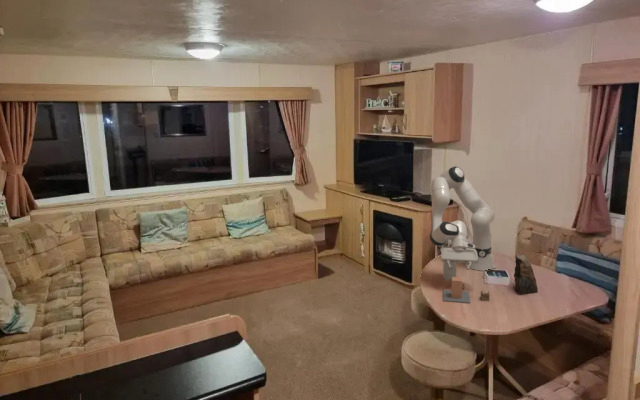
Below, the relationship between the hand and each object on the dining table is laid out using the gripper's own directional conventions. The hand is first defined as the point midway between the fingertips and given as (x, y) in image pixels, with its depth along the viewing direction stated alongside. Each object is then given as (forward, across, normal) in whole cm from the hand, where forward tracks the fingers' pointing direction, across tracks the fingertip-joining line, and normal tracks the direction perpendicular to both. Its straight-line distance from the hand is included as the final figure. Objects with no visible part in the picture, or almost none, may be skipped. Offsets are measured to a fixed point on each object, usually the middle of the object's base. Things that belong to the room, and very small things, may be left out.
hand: (459, 268), depth 244 cm
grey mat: (+15, -2, +5) cm, 16 cm away
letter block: (+15, +14, +5) cm, 21 cm away
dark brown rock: (+4, +36, +17) cm, 40 cm away
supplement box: (-5, -5, +25) cm, 26 cm away
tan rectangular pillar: (+14, -1, +5) cm, 15 cm away
